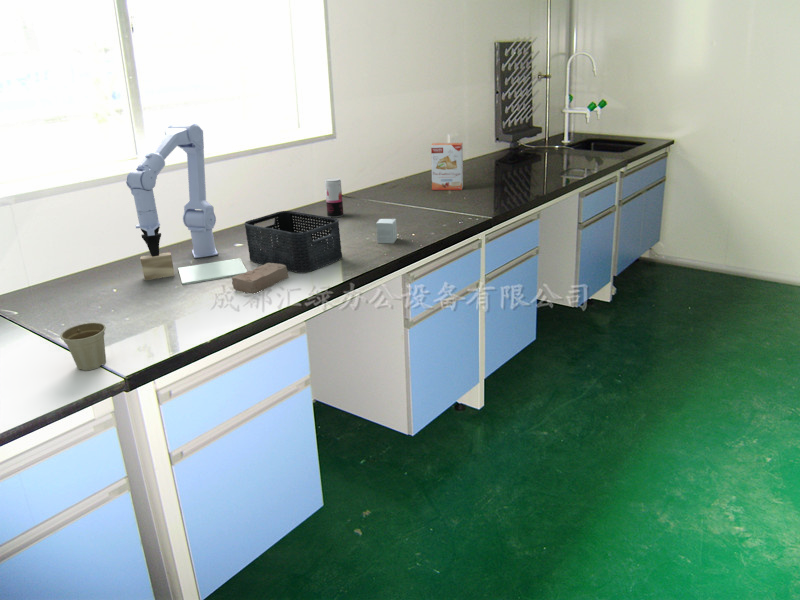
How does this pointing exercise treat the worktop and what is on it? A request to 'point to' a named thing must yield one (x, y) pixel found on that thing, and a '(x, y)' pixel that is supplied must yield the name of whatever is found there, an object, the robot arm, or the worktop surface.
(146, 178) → the robot arm
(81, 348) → the flower pot
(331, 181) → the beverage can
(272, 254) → the storage bin
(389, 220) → the product box
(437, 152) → the cracker box
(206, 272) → the mat
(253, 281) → the brick
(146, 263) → the slab
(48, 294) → the worktop surface
